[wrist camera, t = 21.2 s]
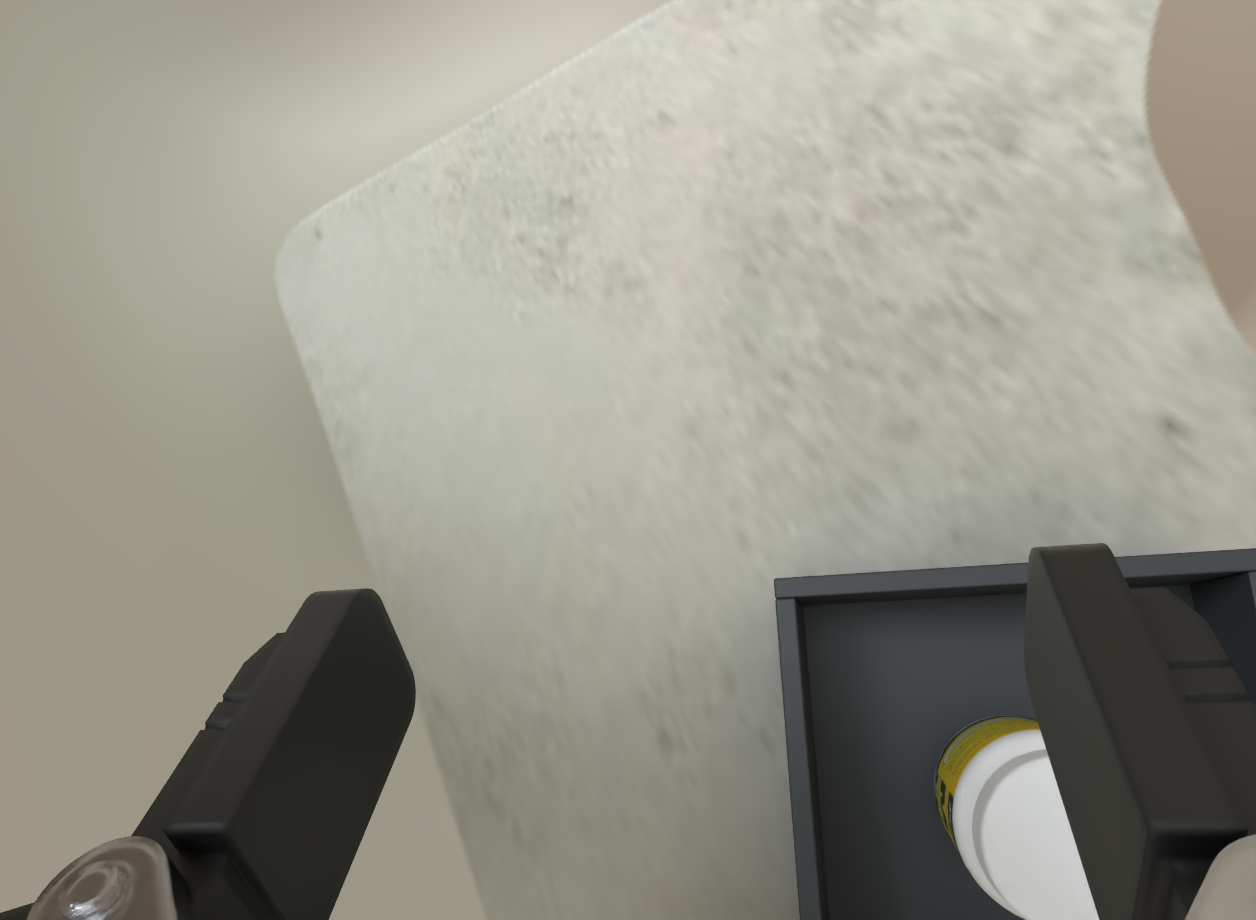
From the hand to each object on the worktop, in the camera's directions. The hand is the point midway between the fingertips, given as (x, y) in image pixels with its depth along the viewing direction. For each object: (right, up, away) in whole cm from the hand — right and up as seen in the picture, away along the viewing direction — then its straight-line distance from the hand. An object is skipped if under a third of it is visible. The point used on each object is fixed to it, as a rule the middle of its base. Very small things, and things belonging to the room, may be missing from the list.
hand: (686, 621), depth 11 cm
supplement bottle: (+11, -9, +18) cm, 23 cm away
